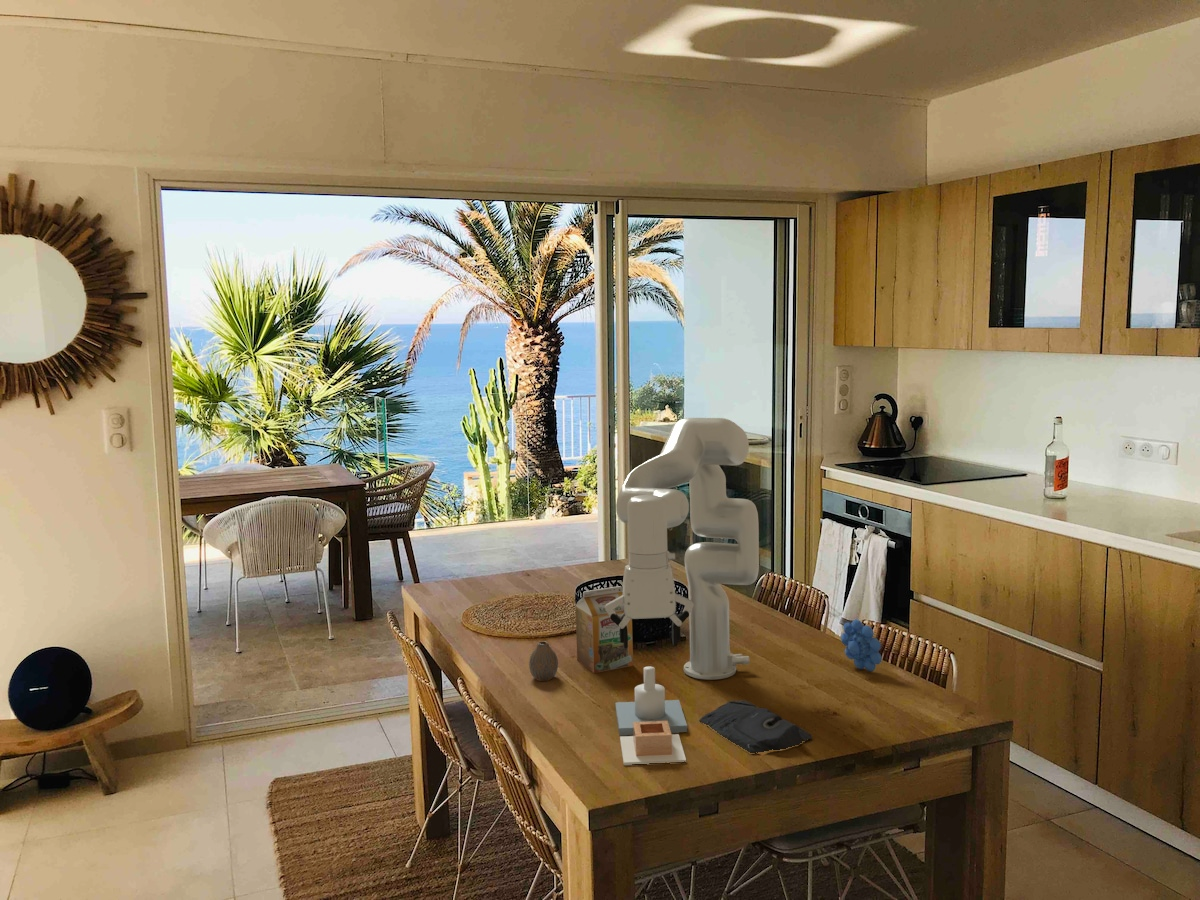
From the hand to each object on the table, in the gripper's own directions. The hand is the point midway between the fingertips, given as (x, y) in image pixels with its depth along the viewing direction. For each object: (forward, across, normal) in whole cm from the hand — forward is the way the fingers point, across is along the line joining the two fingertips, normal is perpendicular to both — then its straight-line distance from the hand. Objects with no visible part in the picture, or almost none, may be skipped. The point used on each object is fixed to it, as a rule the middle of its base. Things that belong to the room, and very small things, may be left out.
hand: (650, 645), depth 194 cm
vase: (+22, +22, -43) cm, 53 cm away
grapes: (+22, -53, -40) cm, 70 cm away
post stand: (+22, -1, -15) cm, 26 cm away
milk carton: (+22, +7, -52) cm, 57 cm away
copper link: (+21, 0, 0) cm, 21 cm away
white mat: (+22, 0, 0) cm, 22 cm away
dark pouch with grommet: (+22, -22, -7) cm, 32 cm away
